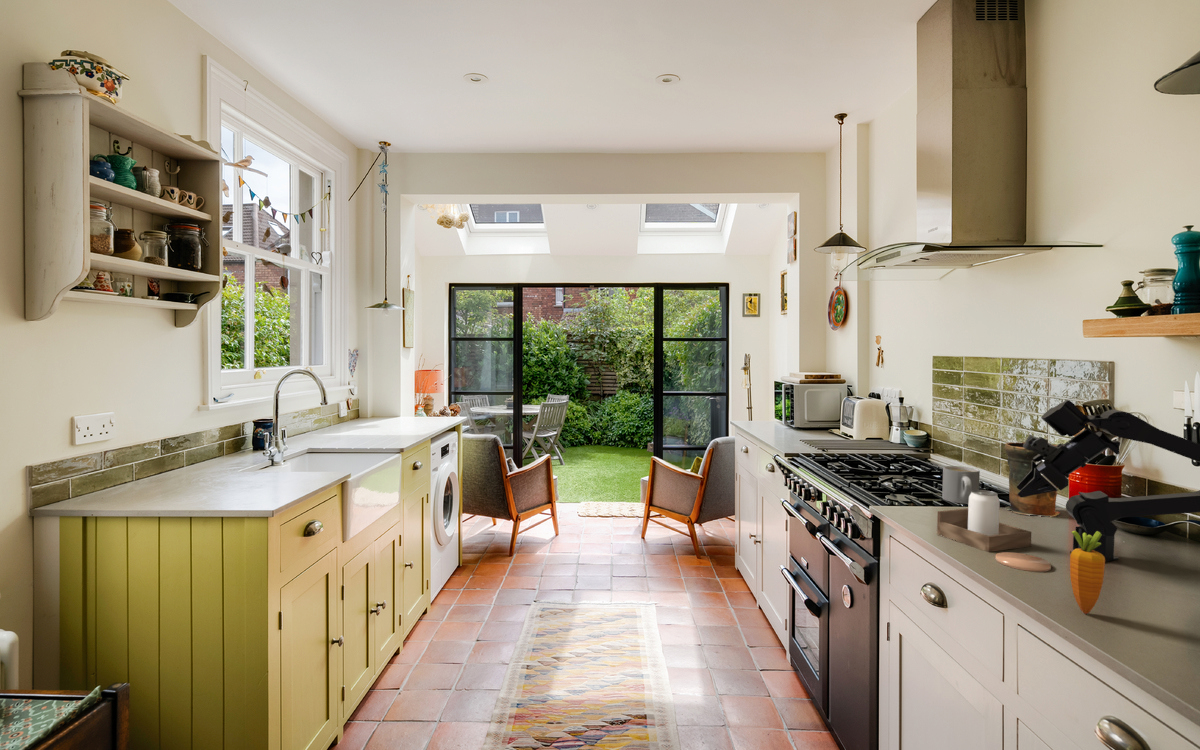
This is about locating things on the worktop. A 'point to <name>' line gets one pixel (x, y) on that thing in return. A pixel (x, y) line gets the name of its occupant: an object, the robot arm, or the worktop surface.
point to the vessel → (1019, 469)
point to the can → (983, 512)
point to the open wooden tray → (957, 529)
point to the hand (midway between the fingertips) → (1018, 492)
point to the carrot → (1087, 571)
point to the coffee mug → (959, 483)
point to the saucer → (1023, 561)
